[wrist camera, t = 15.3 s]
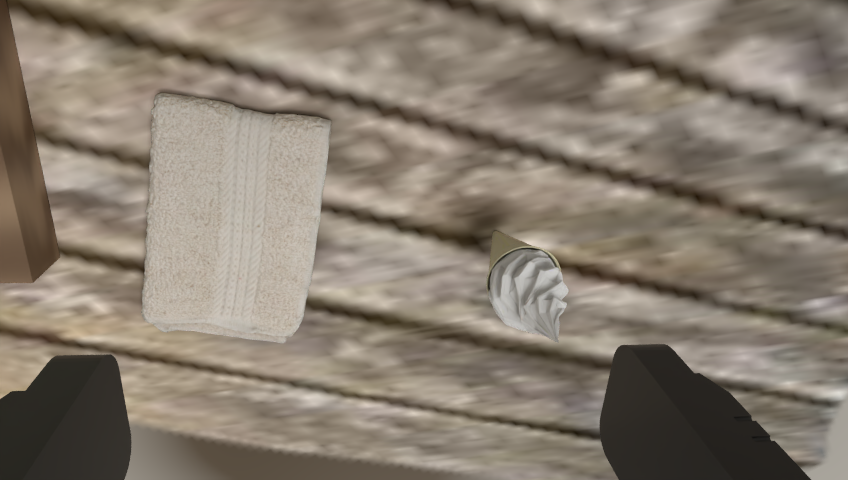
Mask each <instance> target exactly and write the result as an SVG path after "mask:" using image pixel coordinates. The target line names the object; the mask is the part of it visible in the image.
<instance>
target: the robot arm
mask: <svg viewBox="0 0 848 480" xmlns="http://www.w3.org/2000/svg"><path fill="white" fill-rule="evenodd" d="M600 437H601V442H602V446H603V450H604V452H605V455H606V457H607V459H608V461H609V463H610V464H611V466H612V468H613V470H614V472H615V474H616V475H617V477H618V479H619V480H811V479H810V478H809V477H808V476H807V475H806V474H805V473H804V472H803V470H802V469H801V468H800V467H799V466H798V465H797V464H796V463H795V462H794V461H793V460H792V459H791V458H790V457H789V456H788V455H787V453H786V452H785V451H784V450H783V449H782V448H781V447H780V446H779V445H778V444H777V443H776V442H775V441H771V440H770V435H769V434H768V433H767V432H766V431H765V430H764V429H763V428H762V427H761V426H760V425H759V424H758V423H757V421H752V419H751V415H750V414H749V413H748V412H747V411H746V410H745V409H744V408H743V407H742V405H741V404H740V403H739V402H738V401H737V400H736V399H735V398H734V397H733V396H732V395H731V394H730V393H729V392H728V391H726V390H724V389H723V388H721V387H720V386H718V385H717V384H715V383H714V382H712V381H711V380H709V379H707V378H706V377H704V376H703V375H701V374H700V373H695V374H694V373H693V371H692V370H691V369H690V368H689V367H688V366H687V365H686V364H685V363H684V361H683V360H682V359H681V358H680V357H679V356H678V355H677V354H676V352H675V351H674V350H673V349H672V348H671V347H669V346H668V345H665V344H652V345H621V346H620V347H618V349H617V350H616V352H615V354H614V358H613V362H612V366H611V371H610V376H609V380H608V385H607V389H606V394H605V398H604V403H603V408H602V412H601V417H600ZM130 455H131V433H130V427H129V421H128V416H127V410H126V405H125V399H124V394H123V388H122V383H121V377H120V372H119V367H118V363H117V361H116V359H115V357H114V356H112V355H64V356H55V357H53V358H52V359H51V360H50V361H49V362H48V363H47V365H46V366H45V367H44V368H43V370H42V371H41V372H40V373H39V375H38V376H37V377H36V378H35V380H34V381H33V382H32V383H31V385H30V386H29V387H28V388H27V390H26V391H12V392H10V393H9V394H7V395H6V396H4V397H3V398H1V399H0V480H124V479H125V476H126V473H127V470H128V466H129V461H130Z"/></svg>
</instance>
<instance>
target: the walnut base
mask: <svg viewBox="0 0 848 480" xmlns="http://www.w3.org/2000/svg"><path fill="white" fill-rule="evenodd" d="M59 258H60V254H59V249H58V244H57V239H56V235H55V230H54V225H53V220H52V216H51V211H50V206H49V201H48V197H47V192H46V187H45V182H44V178H43V173H42V168H41V163H40V159H39V154H38V149H37V144H36V139H35V135H34V130H33V125H32V120H31V116H30V111H29V106H28V101H27V97H26V92H25V87H24V82H23V78H22V73H21V68H20V63H19V59H18V54H17V49H16V44H15V40H14V35H13V30H12V25H11V21H10V16H9V11H8V6H7V1H6V0H0V283H33V282H34V281H35V280H36V279H37V278H39V277H40V276H41V275H42V274H43V273H44V272H45V271H46V270H47V269H48V268H49V267H50V266H51V265H52V264H53V263H54V262H55V261H57V260H58V259H59Z"/></svg>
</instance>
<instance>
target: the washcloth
mask: <svg viewBox="0 0 848 480" xmlns="http://www.w3.org/2000/svg"><path fill="white" fill-rule="evenodd" d="M151 114H152V115H153V118H152V120H151V121H152V127H151V136H152V138H151V140H152V141H151V143H152V146H151V149H150V156H151V161H150V163H149V172H150V187H149V190H148V192H149V203H148V206H147V209H146V211H145V212H147V214H148V215H147V218H148V219H147V223H148V227H147V229H146V231H147V237H146V239H145V243H146V259H145V262H144V263H145V272H144V275H145V277H144V279H143V281H144V288H143V290H142V294H143V295H142V299H143V300H142V302H143V304H142V311H141V313H143V314H142V316H143V318H144V320H145V321H146V322H148V323H153V325H155V326H156V327H157V328H158V329H159V330H161V331H162V332H169V331H175V330H183V331H197V332H204V333H209V334H216V335H225V336H233V337H239V338H245V339H253V340H262V341H272V342H278V343H285V342H286V339H287V337H291V336H293V335H294V333H295V331H296V330H297V329H298V328H299V326H300V323H301V321H302V319H303V316H304V311H305V304H306V299H307V295H308V289H309V286H310V283H311V277H312V272H313V265H314V258H315V250H316V242H317V233H318V227H319V223H320V211H321V202H322V194H323V186H324V181H325V175H326V168H327V160H328V150H329V144H330V135H331V126H332V124H331V120H326V119H322V118H320V117H313V116H306V115H296V114H279V113H276V114H275V115H272V114H265V113H261V112H257V111H252V110H249V109H240V108H238V107H235V106H234V105H233V104H229V103H225V102H221V101H215V100H209V99H206V98H202V99H201V98H196V97H194V96H190V97H187V96H184V95H178V94H167V93H159V94H158V95H156V96H155V100H154V108H153V109H152V110H151Z"/></svg>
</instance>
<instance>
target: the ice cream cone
mask: <svg viewBox="0 0 848 480" xmlns="http://www.w3.org/2000/svg"><path fill="white" fill-rule="evenodd" d="M562 280H563V278H562V273H561V269H560V266H559V263H558V262H557V260H556V258H555V257H554V256H553V255H552V254H551V253H549V252H548V251H546V250H544V249H542V248H539V247H535V246H531V245H529V244H526V243H524V242H522V241H519V240H517V239H515V238H512V237H510V236H508V235H506V234H503V233H501V232H499V231H494V232H493V234H492V244H491V255H490V267H489V273H488V276H487V281H486V289H487V293H488V296H489V299H490V301H491V303H492V305H493V307H494V310H495V312H496V314H497V315H498V316H499V317H500V318H501V320H502V321H503V322H504V323H505V324H506V325H508V326H511V327H514V328H517V329H519V330H522V331H525V332H526V331H528V333H534V334H541V335H544V336H546V337H548V338H550V339H552V340H554V341H555V342H557V343H558V334H559V325H560V322H559V316H560V315H561V314H562V313H563V312H564V308H565V307H566V306H567V303H566V302H563V301H561V299H563V298H564V297H565V296H566V295H567V294H568V291H569V290H568V288H567V287H566V285H565V284H564V282H563V281H562Z"/></svg>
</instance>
